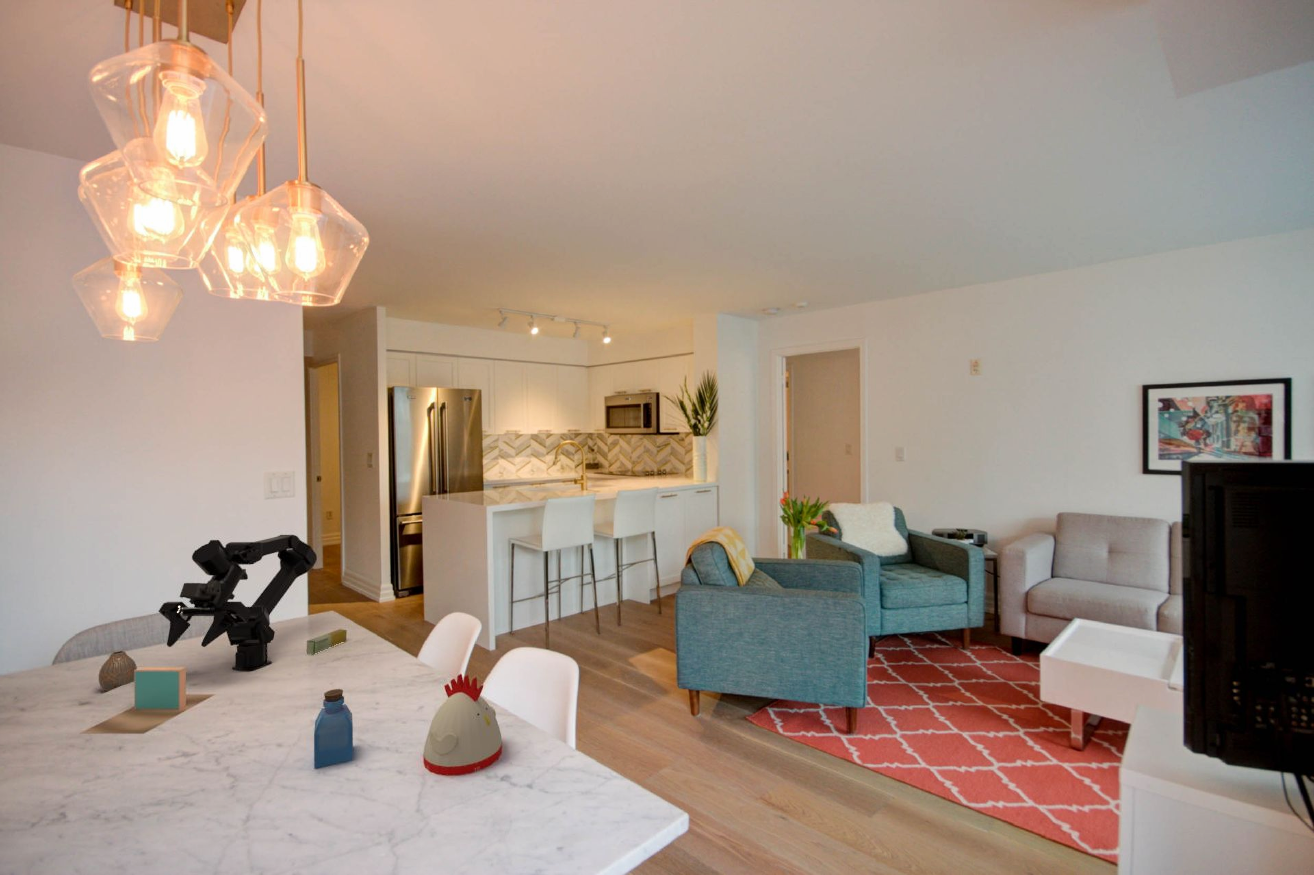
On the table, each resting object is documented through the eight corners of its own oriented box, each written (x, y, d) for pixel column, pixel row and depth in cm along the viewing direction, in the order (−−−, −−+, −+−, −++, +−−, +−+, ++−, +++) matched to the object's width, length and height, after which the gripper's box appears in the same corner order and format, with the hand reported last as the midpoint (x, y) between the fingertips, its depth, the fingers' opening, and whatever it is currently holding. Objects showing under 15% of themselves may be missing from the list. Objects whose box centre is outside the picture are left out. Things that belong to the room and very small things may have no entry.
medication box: (313, 656, 169) (313, 641, 169) (305, 655, 169) (305, 640, 169) (347, 642, 180) (347, 629, 180) (339, 641, 181) (339, 628, 181)
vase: (144, 683, 149) (144, 647, 150) (116, 695, 143) (117, 657, 143) (119, 682, 150) (119, 647, 150) (90, 694, 143) (90, 656, 143)
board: (159, 700, 139) (159, 694, 139) (215, 701, 139) (215, 694, 139) (79, 740, 120) (79, 733, 120) (143, 741, 120) (143, 733, 120)
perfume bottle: (314, 769, 109) (313, 702, 109) (315, 753, 115) (315, 689, 115) (352, 760, 112) (352, 695, 112) (352, 746, 117) (351, 683, 118)
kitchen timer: (470, 782, 105) (470, 694, 105) (406, 768, 109) (406, 684, 109) (516, 744, 118) (515, 666, 118) (457, 733, 122) (457, 658, 123)
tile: (140, 706, 133) (140, 667, 133) (185, 706, 132) (185, 667, 132) (134, 710, 131) (133, 670, 131) (179, 710, 131) (179, 670, 131)
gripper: (165, 567, 144) (123, 628, 133) (242, 567, 144) (206, 628, 133) (191, 593, 152) (153, 652, 141) (264, 592, 152) (232, 652, 141)
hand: (185, 646), depth 139 cm, fingers open, 8 cm apart
